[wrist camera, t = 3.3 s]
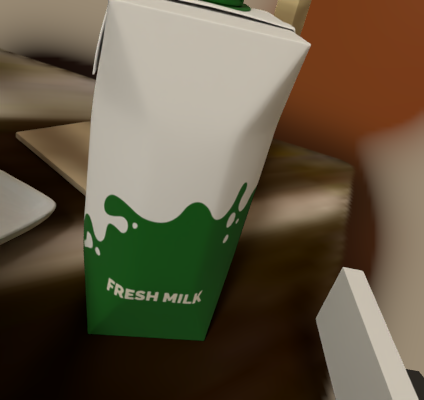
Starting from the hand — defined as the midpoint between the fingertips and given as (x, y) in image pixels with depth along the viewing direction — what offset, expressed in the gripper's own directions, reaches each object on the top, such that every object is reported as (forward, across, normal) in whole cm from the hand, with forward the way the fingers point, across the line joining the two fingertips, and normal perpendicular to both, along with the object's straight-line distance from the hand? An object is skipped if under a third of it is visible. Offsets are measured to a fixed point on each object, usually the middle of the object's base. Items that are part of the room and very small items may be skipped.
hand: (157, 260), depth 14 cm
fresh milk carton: (+8, 0, -11) cm, 13 cm away
